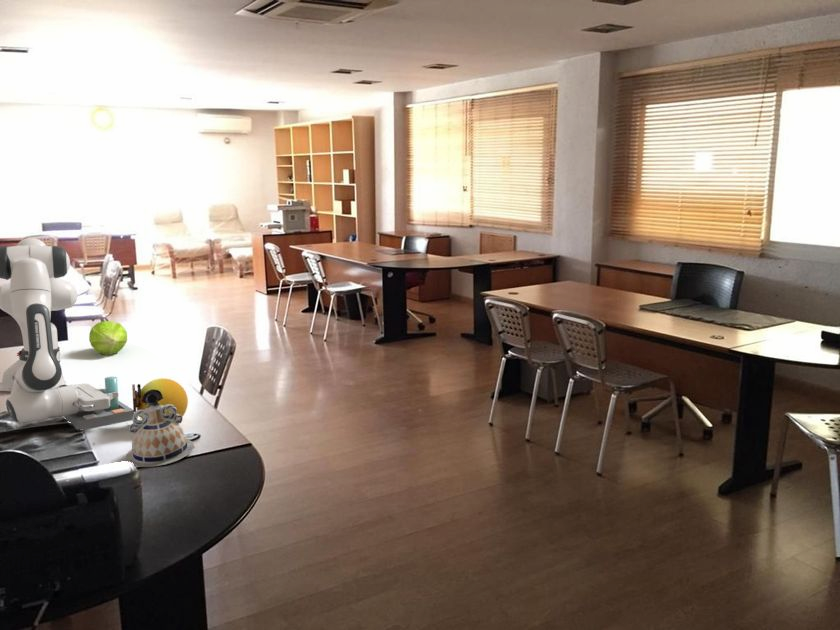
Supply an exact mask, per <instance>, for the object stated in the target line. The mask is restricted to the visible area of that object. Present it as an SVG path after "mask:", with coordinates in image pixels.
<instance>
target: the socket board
mask: <svg viewBox="0 0 840 630" xmlns="http://www.w3.org/2000/svg"><path fill="white" fill-rule="evenodd" d="M118 403H119V409H116V410H111V411H109V412H107V409H102V410H96V411H83V410H82V409H79V410H78V413H77V414H72V415H67V416H63V418H64V417H65V418H66V419H67V420H68V421H69V422H71V423H72V424H73V425H74V426H75V427H76V428H77V429H83V430H82V431H84V430H89V429H94V428H99V427H104V426H110V425H113V424H118V423H123V422H128V421H132V418H133V414H134V413H135V412H134V411H133V409H132V407H130V406H128V405H126V404H125V403H123V402H122V401H120V400H118Z"/></svg>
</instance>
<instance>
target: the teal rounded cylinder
mask: <svg viewBox="0 0 840 630" xmlns="http://www.w3.org/2000/svg"><path fill="white" fill-rule="evenodd" d="M104 385H105V386H104V389H105V392H106V394H109V393H111V392H115V391H116V392H118V393H119V389H118V387H119V386H118V377H117V376H107V377H105V378H104ZM118 401H119V397H118V398H113V399H111V400H110V407H109V408H107V412H109V411H111V410H116V409H119V403H118Z"/></svg>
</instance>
